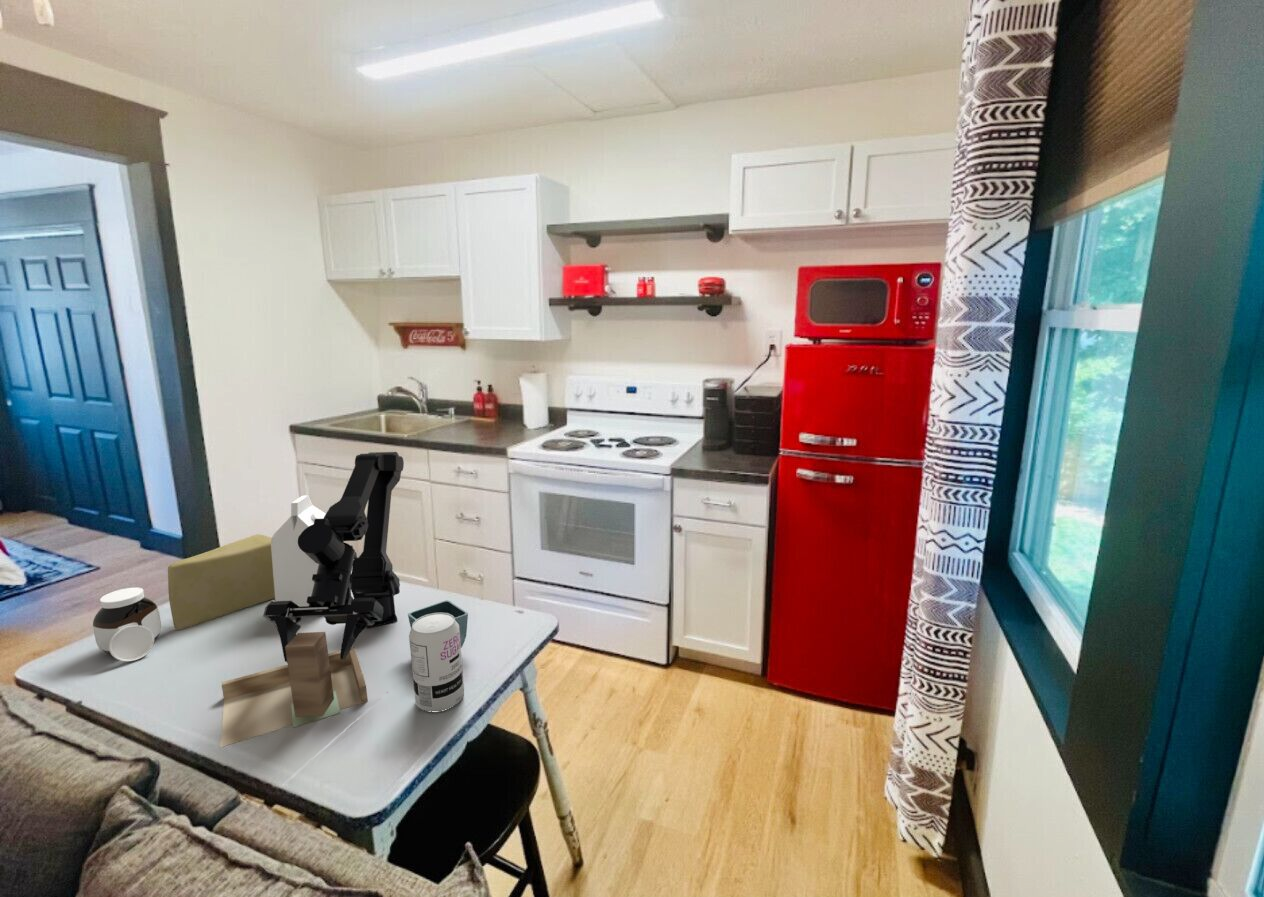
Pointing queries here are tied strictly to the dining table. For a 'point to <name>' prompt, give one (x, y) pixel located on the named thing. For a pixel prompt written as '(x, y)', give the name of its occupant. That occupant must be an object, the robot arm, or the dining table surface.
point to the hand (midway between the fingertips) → (314, 660)
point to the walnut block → (309, 674)
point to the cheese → (221, 581)
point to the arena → (283, 699)
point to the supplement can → (436, 662)
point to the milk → (294, 555)
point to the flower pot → (444, 607)
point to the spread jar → (126, 624)
